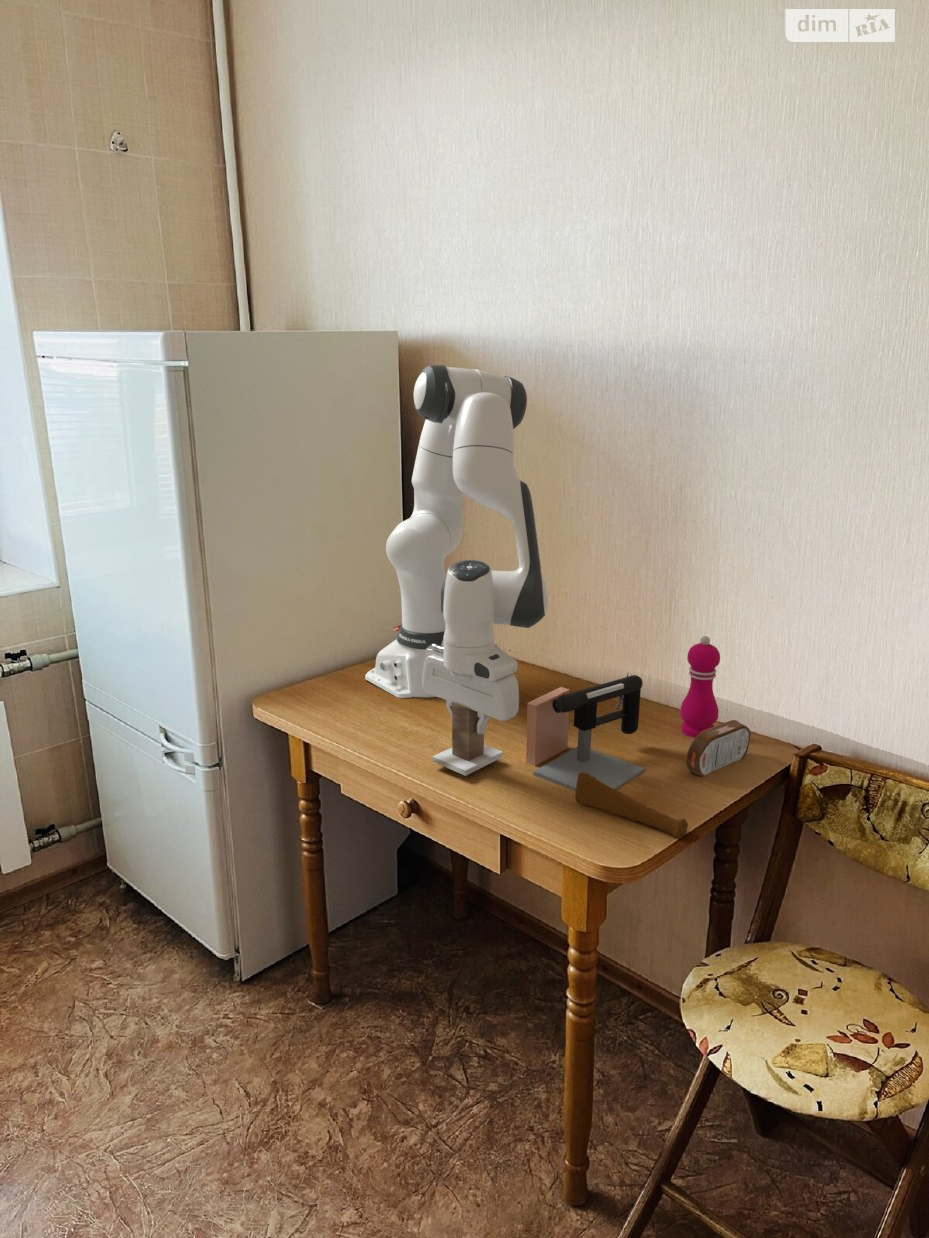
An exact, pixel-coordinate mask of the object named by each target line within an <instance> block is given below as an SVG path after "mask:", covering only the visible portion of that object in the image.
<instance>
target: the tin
mask: <svg viewBox="0 0 929 1238" xmlns="http://www.w3.org/2000/svg"><path fill="white" fill-rule="evenodd" d="M751 734H752V732H751V729H750V728H749V727H748V726H746V725H745V724H743V723H741V722H739V721H738V720H737V719H731V720H728V721H725V722H723V723H721V724H718V725H714V727H712V728H709V729H707V730H704V731H702V732H701V733H700V734H698V735H697V737H696V738H694V739H693V740H692V742H691V744H690V746H689V747H688V751H687V754H686V757H685V758H686V759H685V760H686V761H685V762H686V763H685V764H686V768H687V769H688V771H689V772H691V773H693V774H695V775H697V776H698V777H704V776H707V775H708V774H710V773H712V772H714V771H716V770H720V769H721V768H724V767H725V766H728V765H730V764H732V763H735V762H736V761H741V760H742V759H744V757H745V756H746V754H747V752H748V750H749V747H750V743H751V736H752V735H751Z"/></svg>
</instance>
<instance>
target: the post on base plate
mask: <svg viewBox="0 0 929 1238" xmlns="http://www.w3.org/2000/svg"><path fill="white" fill-rule="evenodd" d="M479 719H480V717H478V712H477V711H474V710H471V709H470V708H467V707H464V706H462V705H459V704H456V703H452V723H451V724H452V725H451V731H452V732H451V733H452V734H451V735H452V736H451V742H452V743H451V747H450V748H448V749H445V750H443V751H441V752H439V753H437V754H434V755H432V762H433V763H435V764H438V765H440V766H442V767H445V768H446V769H448V770H452V771H453V772H456V773H457V774H461V775H462V776H465V777H467V776H468V775H471V774H472V773H474V772H476V771H478V770H480V769H481V768H485V767H486V766H488V765H490V764H491V763H494V762H496V761H497V760H500V759H502V758H503V757H504V752H503V751H502V750H499V749H496V748H494V747H492V746H489V745H487V744H485V733H483V734H478V733H476V732H474V731H473V729H474V727H473V724H474V723H476V722H478V721H479Z"/></svg>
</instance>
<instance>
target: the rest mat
mask: <svg viewBox="0 0 929 1238" xmlns="http://www.w3.org/2000/svg"><path fill="white" fill-rule="evenodd" d="M577 750H578V745H577V746H576V747H574V748H572V749H571V750H568V751H567V752H565V753H563V754H562V755H560V756H559V757H557V758H555V759H553V760H551V761H550V762H548V763H546V764H544V765H542V766H541V767H539V768H537V769H535V770H534V771H533V776H535V777H538V778H539V779H540V778H541V779H544V780H546V781H549V782H552V783H553V784H557V785H559V786H562V787H565V788H568V789H571V790H573V791H576V786H577V780H578V775H579V773H587V774H590V776H591V777H595V778H596V779H597V780H598V781H600V782H602V783H603V784H605V785H607V786H609V787H610V788H612V789H616V790H617V789H618V788H620V787H621V786H623V785H624V784H626V783H627V782H629V781H631V780H632V779H633V778H635V777H637V776H638V775H640V774H642V773H643V772H645V771H646V768H645V767H643V766H640V765H637V764H634V763H632V762H629V761H626V760H622V759H621V758H617V757H614V756H611V755H609V754H605V753H603V752H600V751H597V750H595V749H592V748H591V750H590V760H588V761H586V762H582V761H580V760H578V759H577Z"/></svg>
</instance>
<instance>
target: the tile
mask: <svg viewBox="0 0 929 1238" xmlns="http://www.w3.org/2000/svg"><path fill="white" fill-rule="evenodd" d="M570 691H571V690H570V688H565V687H563V686H560V687H557V688H556V689H554V690H551V691H549V692H547V693H545V694H543V695H541V696H539V697H537V698H535V699H532V700H531V701H528V702H527V703H526V704H527V707H526V708H527V709H526V710H527V711H526V750H525V751H526V753H525V755H526V756H525V762H526V764H528V765H531V766H533V767H536V766H538V765H539V764H542V763H544V761H546V760H548V759H550V758H552V757H554V756H556V755H557V754H559V753H561V752H563V751H565V750H567V749H568V747H569V744H568V743H569V720H570V719H569V718H570V711H569V712H565V713H562V712H561V713H556V712H555V711H554V709H553V706H552V702H553V700H554V699H556V698H558V697H559V696H562V695H563V692H564V695H566V694H569V693H571V692H570Z"/></svg>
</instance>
